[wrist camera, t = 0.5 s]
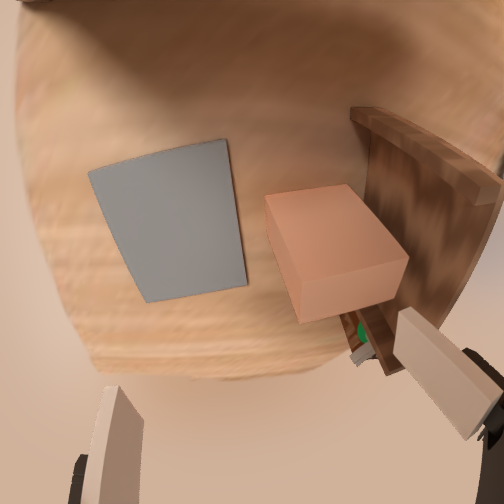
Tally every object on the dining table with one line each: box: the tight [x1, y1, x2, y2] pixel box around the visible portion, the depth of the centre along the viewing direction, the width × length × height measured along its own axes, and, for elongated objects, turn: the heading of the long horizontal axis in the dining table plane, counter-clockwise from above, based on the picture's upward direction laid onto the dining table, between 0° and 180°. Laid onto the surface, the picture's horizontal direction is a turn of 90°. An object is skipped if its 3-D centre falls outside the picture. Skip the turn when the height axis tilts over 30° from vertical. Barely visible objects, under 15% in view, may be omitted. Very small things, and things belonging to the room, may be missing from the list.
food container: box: [339, 310, 378, 367], centre depth 40 cm, size 12×6×10 cm, turn 76°
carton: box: [264, 184, 409, 324], centre depth 25 cm, size 5×9×12 cm, turn 96°
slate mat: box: [88, 139, 247, 303], centre depth 29 cm, size 18×13×1 cm
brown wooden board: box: [350, 107, 504, 376], centre depth 24 cm, size 22×4×16 cm, turn 6°
